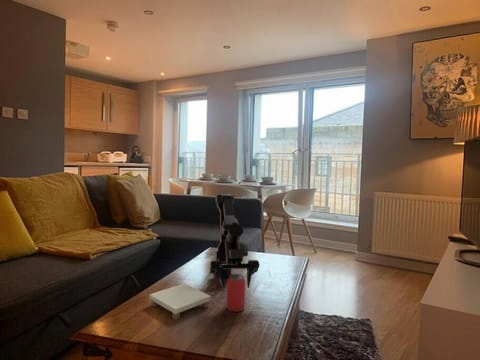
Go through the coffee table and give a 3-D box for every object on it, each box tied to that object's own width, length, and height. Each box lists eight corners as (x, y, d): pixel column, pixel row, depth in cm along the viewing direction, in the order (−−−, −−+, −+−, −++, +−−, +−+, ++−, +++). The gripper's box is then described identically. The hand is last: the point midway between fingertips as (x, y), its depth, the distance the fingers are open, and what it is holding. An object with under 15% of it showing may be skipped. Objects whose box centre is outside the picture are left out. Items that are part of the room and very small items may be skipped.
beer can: (242, 313, 118) (243, 280, 117) (224, 311, 119) (225, 278, 118) (245, 305, 124) (247, 274, 124) (228, 303, 126) (230, 272, 125)
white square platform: (149, 304, 121) (149, 294, 121) (184, 293, 133) (184, 283, 133) (175, 320, 111) (175, 309, 110) (210, 306, 122) (211, 296, 122)
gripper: (211, 239, 124) (213, 279, 114) (259, 239, 127) (265, 277, 117) (208, 254, 132) (210, 292, 122) (254, 253, 135) (259, 290, 125)
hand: (236, 287), depth 121 cm, fingers open, 9 cm apart
